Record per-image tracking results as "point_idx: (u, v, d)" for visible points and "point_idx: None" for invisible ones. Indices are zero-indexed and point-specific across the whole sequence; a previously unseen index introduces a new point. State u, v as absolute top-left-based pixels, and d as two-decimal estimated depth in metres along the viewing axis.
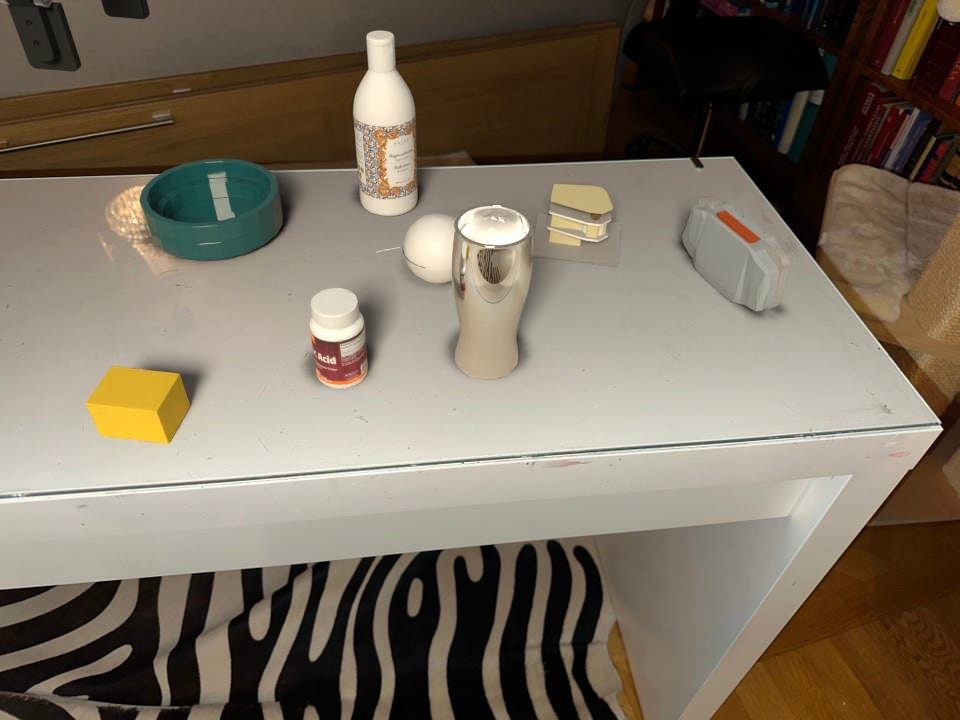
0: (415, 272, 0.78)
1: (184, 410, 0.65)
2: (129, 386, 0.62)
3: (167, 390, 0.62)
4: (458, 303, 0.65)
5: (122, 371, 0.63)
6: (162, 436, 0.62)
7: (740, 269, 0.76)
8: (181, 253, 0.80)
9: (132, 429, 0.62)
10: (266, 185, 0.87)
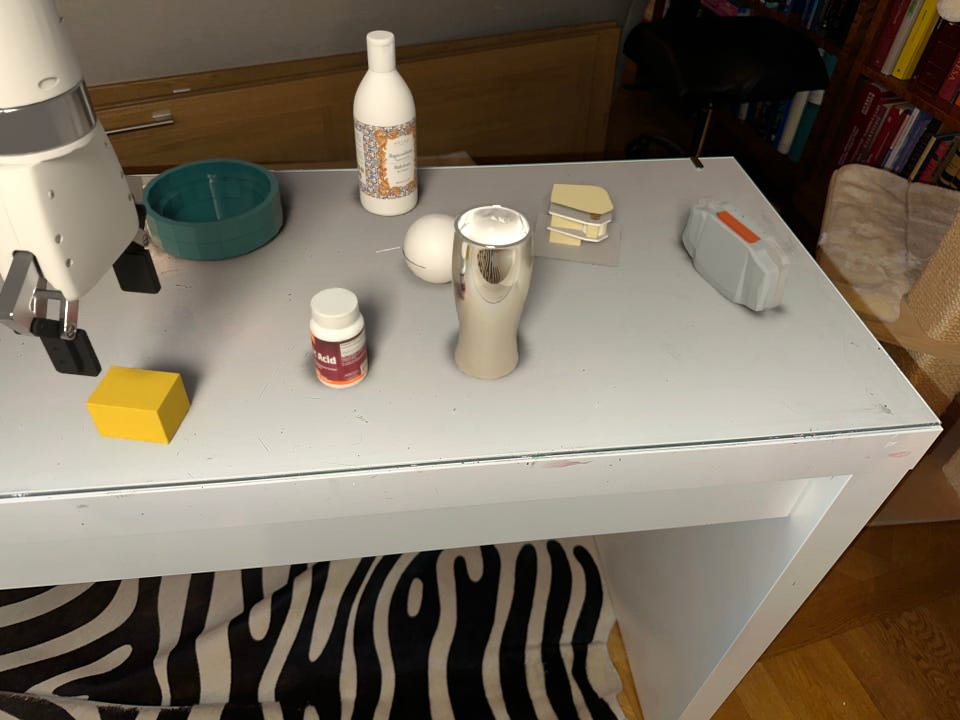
0: (415, 272, 0.78)
1: (184, 410, 0.65)
2: (129, 386, 0.62)
3: (167, 390, 0.62)
4: (458, 303, 0.65)
5: (122, 371, 0.63)
6: (162, 436, 0.62)
7: (740, 269, 0.76)
8: (181, 253, 0.80)
9: (132, 429, 0.62)
10: (266, 185, 0.87)
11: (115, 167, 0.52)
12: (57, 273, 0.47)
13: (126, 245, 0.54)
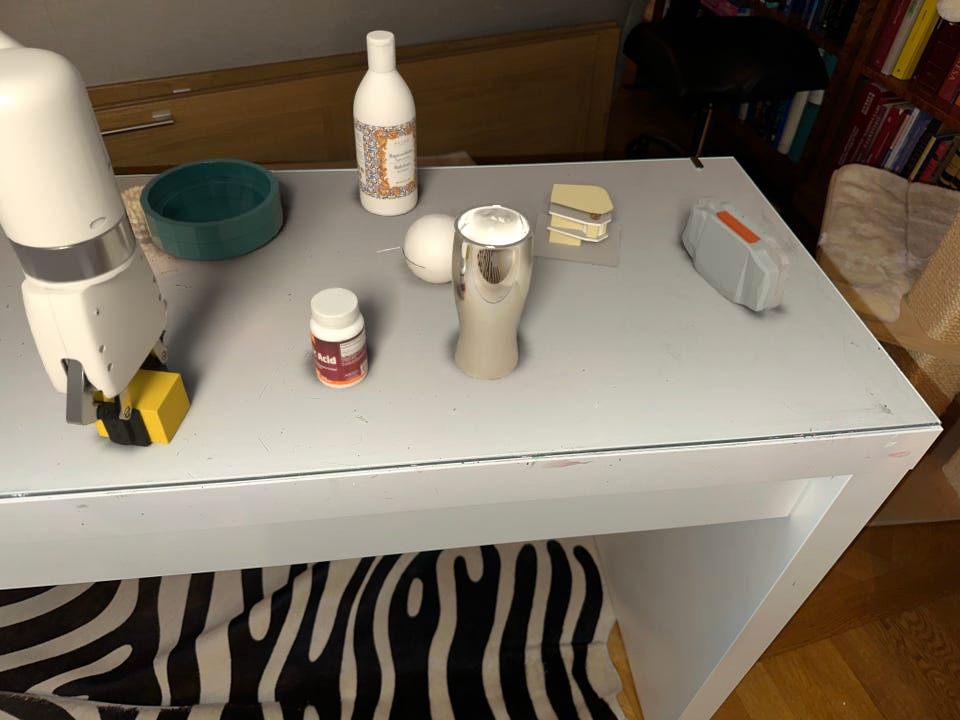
0: (415, 272, 0.78)
1: (184, 410, 0.65)
2: (129, 386, 0.62)
3: (167, 390, 0.62)
4: (458, 303, 0.65)
5: None
6: (162, 436, 0.62)
7: (740, 269, 0.76)
8: (181, 253, 0.80)
9: None
10: (266, 185, 0.87)
11: (148, 275, 0.58)
12: (99, 377, 0.54)
13: (156, 340, 0.61)
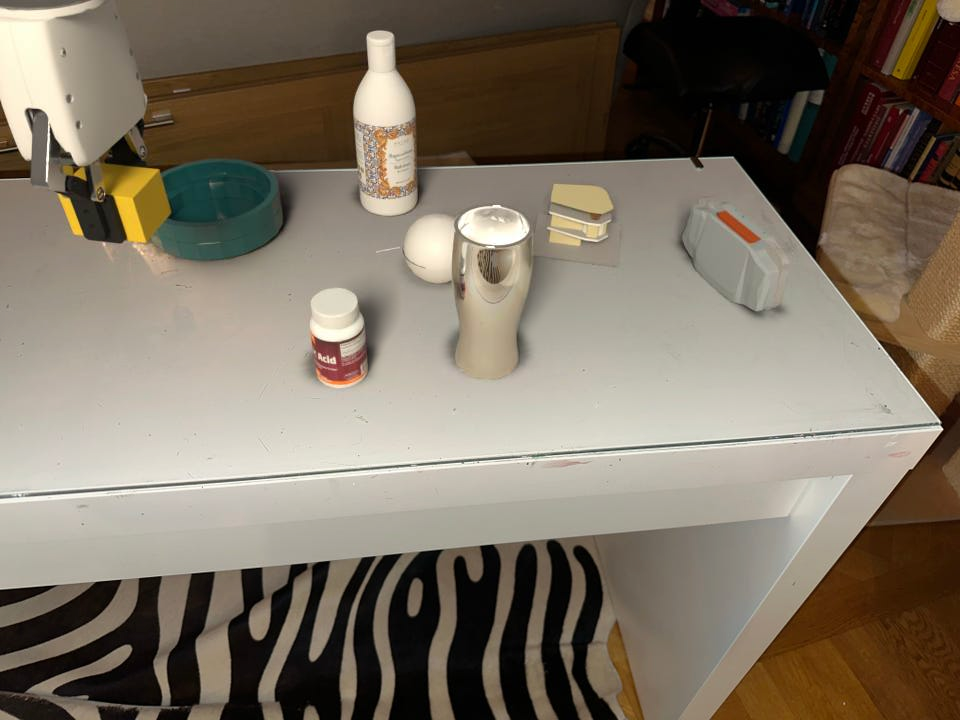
0: (415, 272, 0.78)
1: (165, 213, 0.61)
2: (105, 178, 0.58)
3: (145, 182, 0.57)
4: (458, 303, 0.65)
5: None
6: (139, 232, 0.58)
7: (740, 269, 0.76)
8: (181, 253, 0.80)
9: None
10: (266, 185, 0.87)
11: (124, 42, 0.54)
12: (67, 134, 0.50)
13: (133, 123, 0.56)
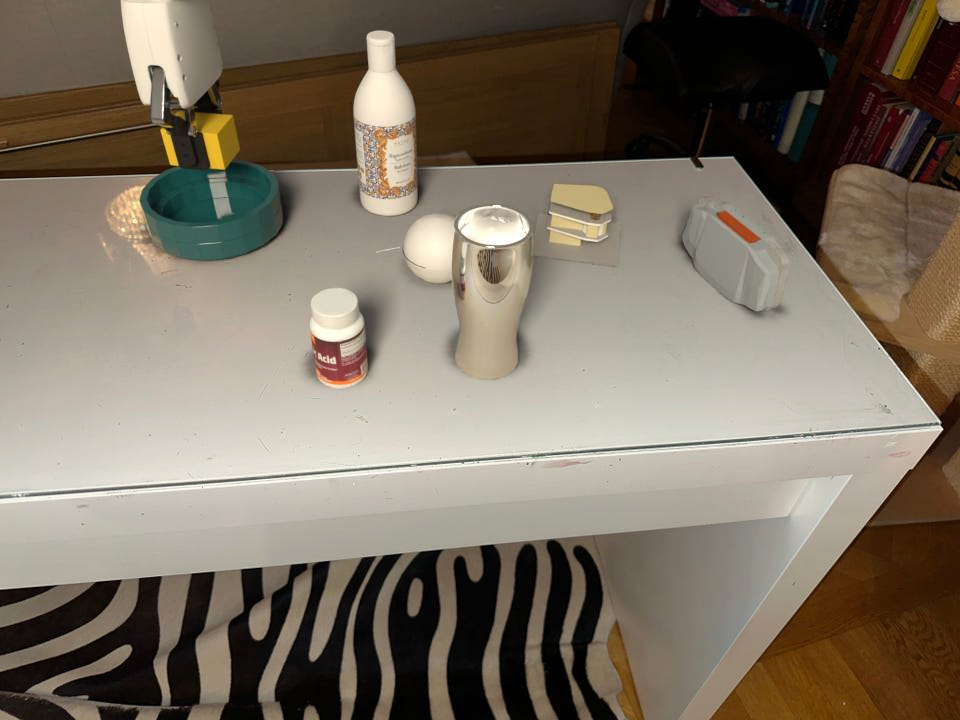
0: (415, 272, 0.78)
1: (236, 149, 0.81)
2: None
3: (224, 123, 0.77)
4: (458, 303, 0.65)
5: None
6: (220, 161, 0.78)
7: (740, 269, 0.76)
8: (181, 253, 0.80)
9: None
10: (266, 185, 0.87)
11: (210, 19, 0.74)
12: (176, 83, 0.70)
13: (215, 80, 0.76)
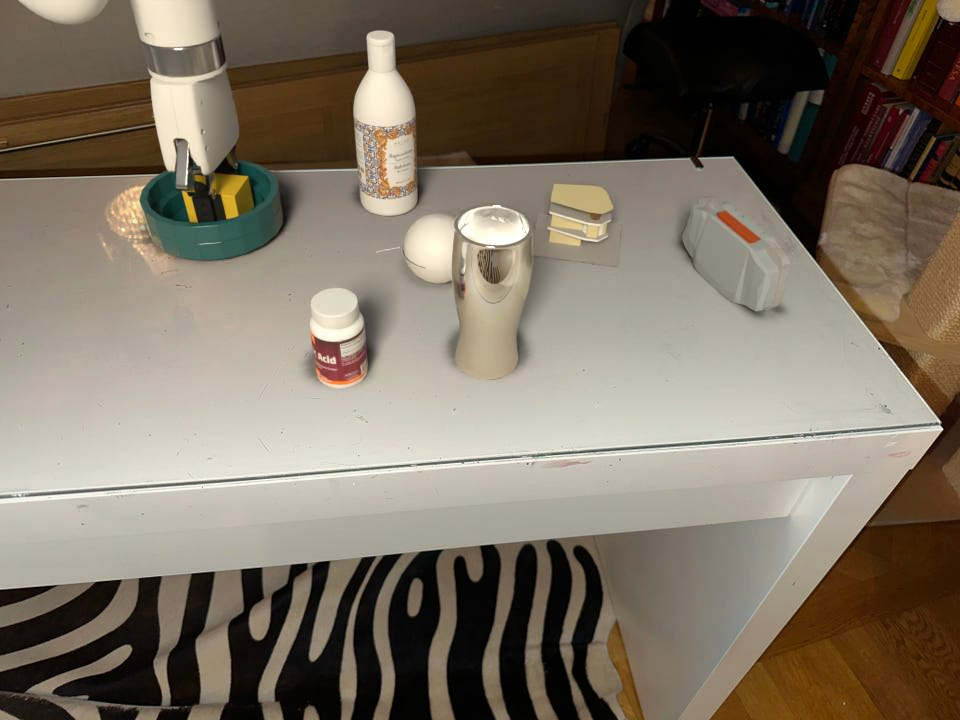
0: (415, 272, 0.78)
1: (250, 207, 0.87)
2: None
3: (240, 185, 0.84)
4: (458, 303, 0.65)
5: None
6: None
7: (740, 269, 0.76)
8: (181, 253, 0.80)
9: None
10: (266, 185, 0.87)
11: (229, 92, 0.80)
12: (199, 154, 0.76)
13: (232, 145, 0.83)
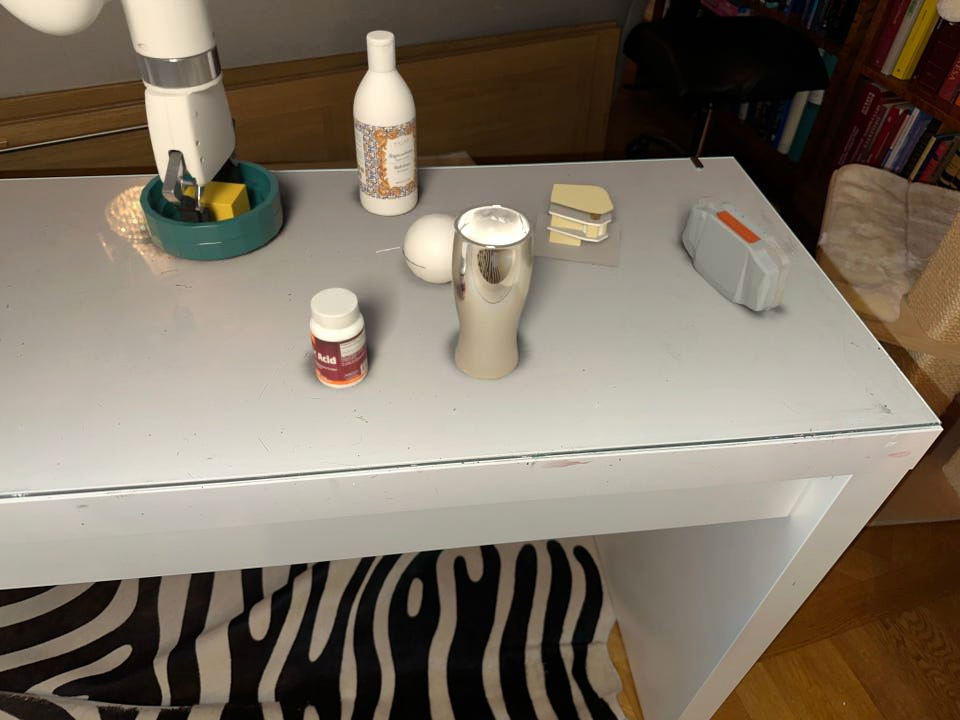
0: (415, 272, 0.78)
1: None
2: (209, 191, 0.83)
3: (237, 193, 0.83)
4: (458, 303, 0.65)
5: None
6: None
7: (740, 269, 0.76)
8: (181, 253, 0.80)
9: None
10: (266, 185, 0.87)
11: (225, 102, 0.80)
12: (194, 165, 0.75)
13: (228, 156, 0.82)
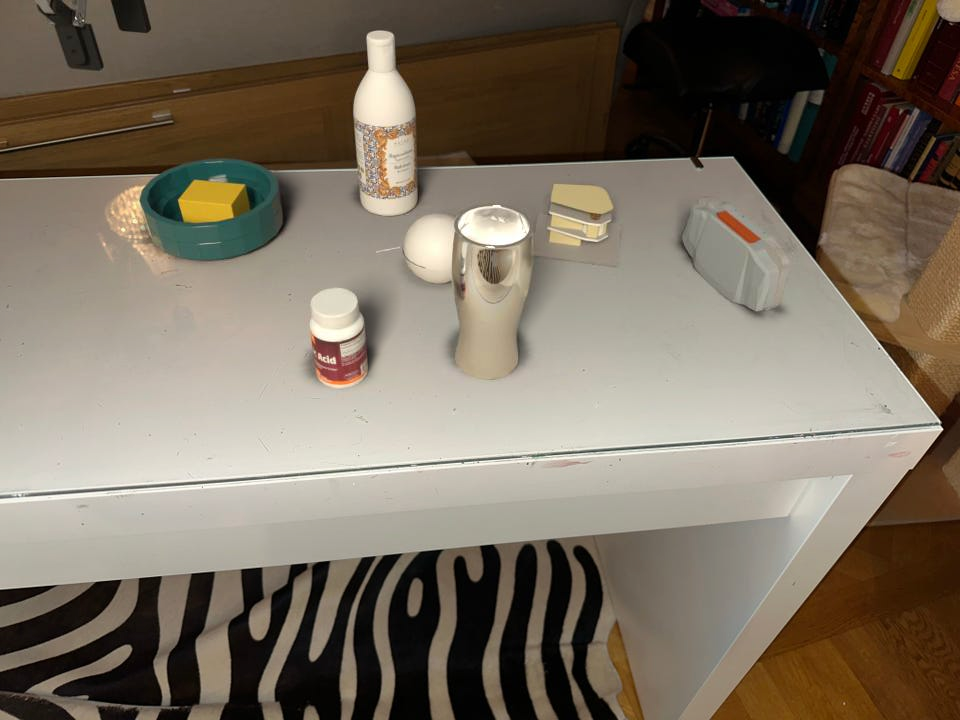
0: (415, 272, 0.78)
1: None
2: (209, 191, 0.83)
3: (237, 193, 0.83)
4: (458, 303, 0.65)
5: (202, 182, 0.85)
6: None
7: (740, 269, 0.76)
8: (181, 253, 0.80)
9: None
10: (266, 185, 0.87)
11: None
12: None
13: None
